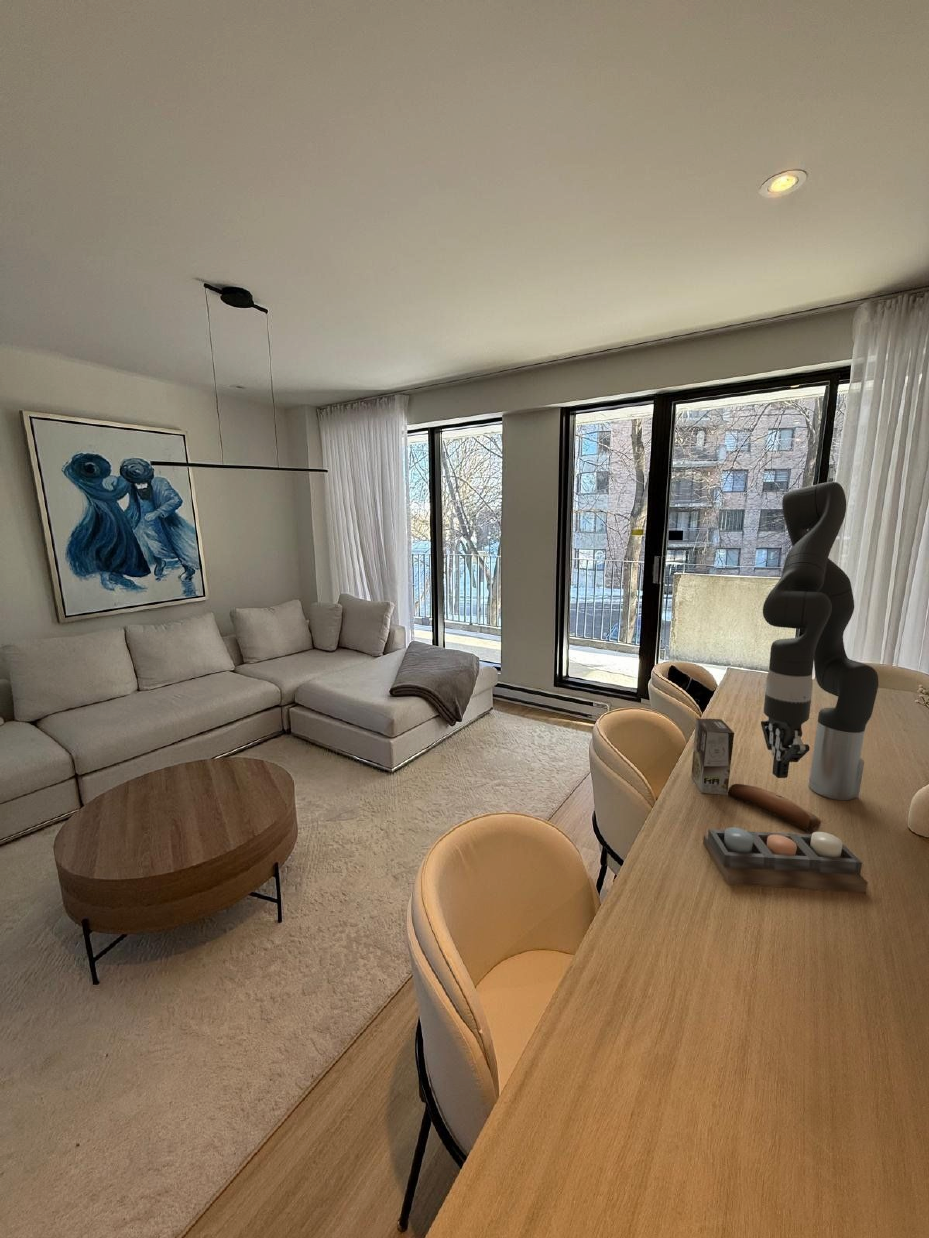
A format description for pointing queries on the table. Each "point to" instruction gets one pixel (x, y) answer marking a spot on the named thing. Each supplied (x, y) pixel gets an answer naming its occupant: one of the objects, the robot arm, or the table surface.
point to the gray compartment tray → (785, 865)
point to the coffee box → (712, 756)
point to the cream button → (826, 845)
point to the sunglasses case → (775, 805)
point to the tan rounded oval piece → (781, 845)
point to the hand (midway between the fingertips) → (779, 775)
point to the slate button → (738, 840)
